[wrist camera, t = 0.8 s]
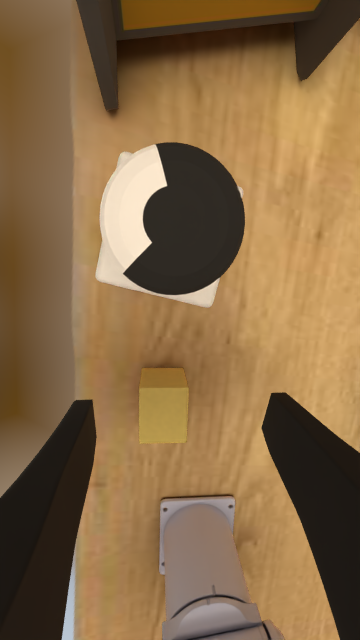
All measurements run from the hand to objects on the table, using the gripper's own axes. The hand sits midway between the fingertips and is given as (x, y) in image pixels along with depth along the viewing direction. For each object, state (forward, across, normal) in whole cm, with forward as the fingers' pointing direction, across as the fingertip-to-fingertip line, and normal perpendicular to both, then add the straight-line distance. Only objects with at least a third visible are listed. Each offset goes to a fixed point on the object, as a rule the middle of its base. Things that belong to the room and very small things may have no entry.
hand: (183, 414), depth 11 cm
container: (+17, 0, -3) cm, 17 cm away
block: (+13, 0, +10) cm, 16 cm away
